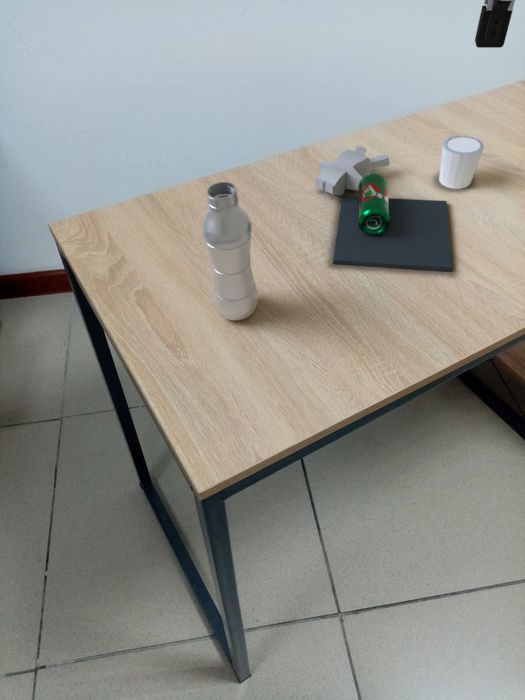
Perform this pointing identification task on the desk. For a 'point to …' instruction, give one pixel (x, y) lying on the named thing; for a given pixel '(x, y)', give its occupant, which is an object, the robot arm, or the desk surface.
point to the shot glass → (459, 161)
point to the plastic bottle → (229, 252)
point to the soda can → (373, 204)
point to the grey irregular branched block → (347, 170)
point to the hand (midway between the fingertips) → (488, 44)
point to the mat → (397, 237)
